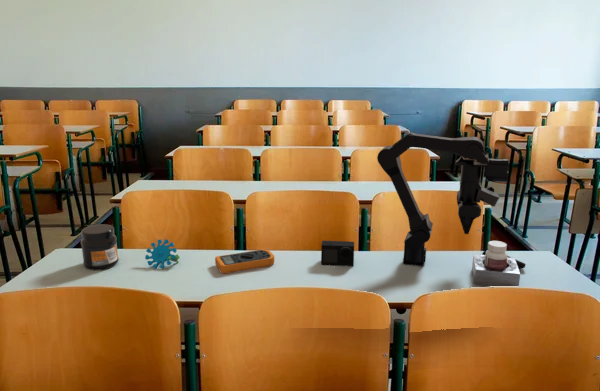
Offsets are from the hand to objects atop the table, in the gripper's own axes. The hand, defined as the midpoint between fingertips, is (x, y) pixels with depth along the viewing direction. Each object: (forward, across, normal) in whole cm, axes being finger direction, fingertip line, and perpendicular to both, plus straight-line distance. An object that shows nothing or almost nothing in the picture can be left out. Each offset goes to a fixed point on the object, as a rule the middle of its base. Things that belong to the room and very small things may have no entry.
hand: (465, 228), depth 158 cm
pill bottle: (+13, -6, -9) cm, 17 cm away
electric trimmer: (+14, +9, -13) cm, 21 cm away
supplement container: (+13, -27, +111) cm, 115 cm away
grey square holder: (+13, -6, -9) cm, 17 cm away
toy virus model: (+13, -22, +92) cm, 95 cm away
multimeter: (+14, -16, +67) cm, 70 cm away
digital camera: (+13, -7, +38) cm, 41 cm away
